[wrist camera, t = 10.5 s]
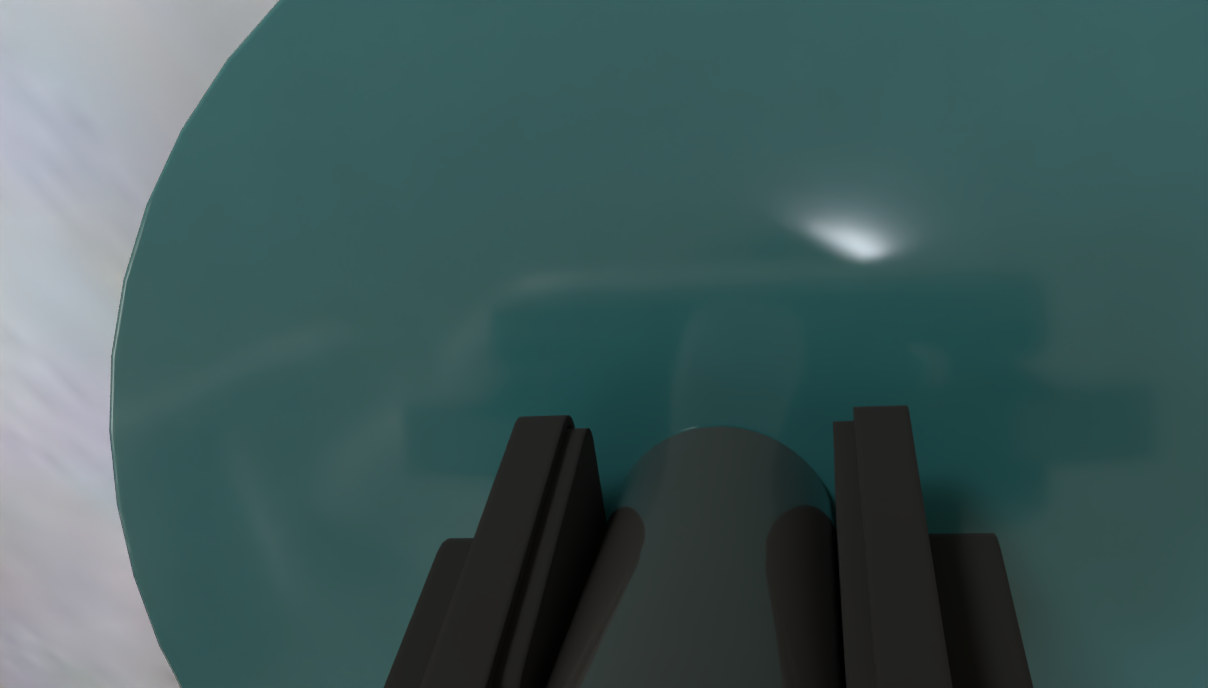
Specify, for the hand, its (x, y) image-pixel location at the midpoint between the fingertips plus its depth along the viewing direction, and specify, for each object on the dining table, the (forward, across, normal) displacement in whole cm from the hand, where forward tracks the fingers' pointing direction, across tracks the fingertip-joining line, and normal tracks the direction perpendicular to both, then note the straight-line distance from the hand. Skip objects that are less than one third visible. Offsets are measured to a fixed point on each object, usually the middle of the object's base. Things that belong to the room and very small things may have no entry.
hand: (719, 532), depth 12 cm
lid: (+1, 0, 0) cm, 1 cm away
